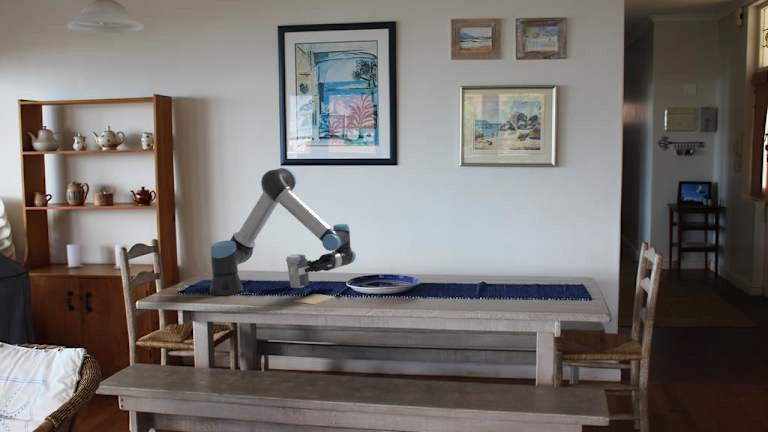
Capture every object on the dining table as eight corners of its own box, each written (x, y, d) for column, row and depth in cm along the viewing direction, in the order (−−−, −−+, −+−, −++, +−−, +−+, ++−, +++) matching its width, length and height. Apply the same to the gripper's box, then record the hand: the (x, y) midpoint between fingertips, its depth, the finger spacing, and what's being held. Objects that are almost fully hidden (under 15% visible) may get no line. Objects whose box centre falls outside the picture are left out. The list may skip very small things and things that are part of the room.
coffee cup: (303, 289, 317) (302, 257, 316) (284, 288, 319) (282, 257, 317) (310, 284, 327) (308, 253, 325) (291, 284, 329) (289, 253, 327)
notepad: (293, 301, 295) (293, 300, 295) (314, 294, 306) (314, 293, 306) (314, 304, 288) (314, 304, 288) (335, 297, 299) (335, 296, 299)
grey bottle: (298, 285, 295) (296, 256, 293) (304, 283, 298) (302, 254, 297) (304, 286, 293) (302, 256, 291) (311, 284, 296) (309, 255, 294)
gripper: (315, 252, 314) (280, 261, 295) (343, 254, 304) (309, 264, 285) (316, 268, 315) (281, 278, 296) (344, 270, 305) (310, 281, 286)
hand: (295, 271), depth 290 cm, fingers closed on grey bottle, 4 cm apart
